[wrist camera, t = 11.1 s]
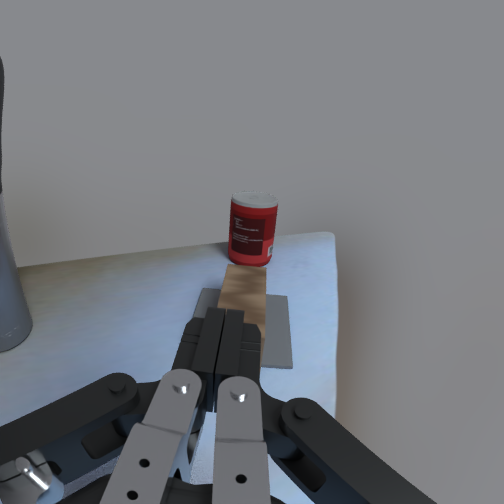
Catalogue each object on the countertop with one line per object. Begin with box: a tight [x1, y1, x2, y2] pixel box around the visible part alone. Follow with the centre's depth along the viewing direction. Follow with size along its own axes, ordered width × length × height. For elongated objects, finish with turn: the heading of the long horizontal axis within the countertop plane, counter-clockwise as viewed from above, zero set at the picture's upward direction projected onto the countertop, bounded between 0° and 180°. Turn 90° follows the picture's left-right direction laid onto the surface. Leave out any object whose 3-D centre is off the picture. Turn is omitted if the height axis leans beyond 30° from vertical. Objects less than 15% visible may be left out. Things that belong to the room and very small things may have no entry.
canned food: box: [228, 191, 278, 267], centre depth 53 cm, size 8×8×11 cm
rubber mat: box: [193, 288, 293, 369], centre depth 38 cm, size 14×12×1 cm
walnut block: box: [217, 264, 266, 369], centre depth 36 cm, size 5×5×14 cm
